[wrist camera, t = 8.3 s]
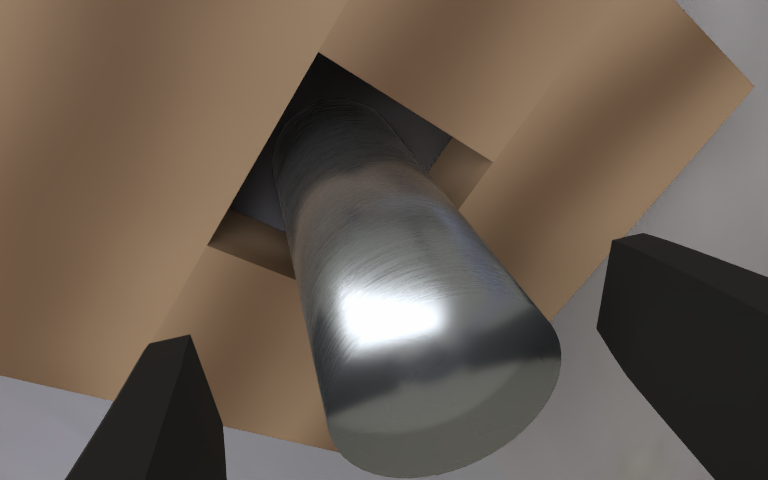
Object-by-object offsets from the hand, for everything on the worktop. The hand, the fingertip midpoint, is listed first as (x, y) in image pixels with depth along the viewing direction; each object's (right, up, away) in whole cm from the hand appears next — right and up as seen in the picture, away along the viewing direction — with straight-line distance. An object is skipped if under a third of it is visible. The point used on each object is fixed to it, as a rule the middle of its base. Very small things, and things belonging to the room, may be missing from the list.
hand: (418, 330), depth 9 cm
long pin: (-2, +4, +6) cm, 8 cm away
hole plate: (-2, +4, +6) cm, 8 cm away
